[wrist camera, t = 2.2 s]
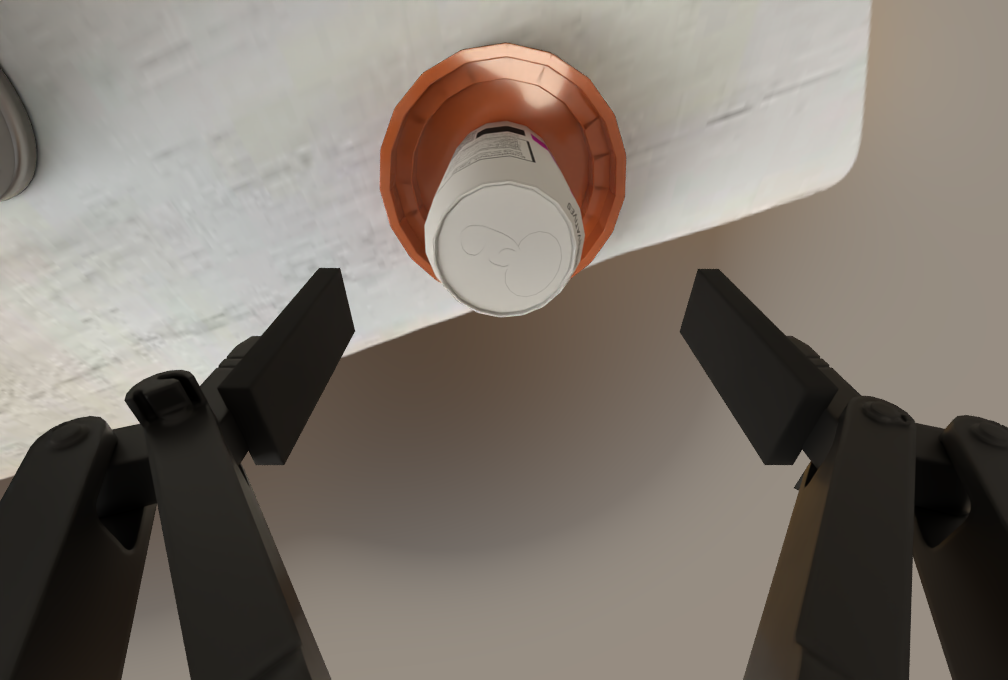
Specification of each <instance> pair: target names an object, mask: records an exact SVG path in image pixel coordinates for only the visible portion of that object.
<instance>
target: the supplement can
mask: <svg viewBox="0 0 1008 680" xmlns="http://www.w3.org/2000/svg"><path fill="white" fill-rule="evenodd" d="M424 227H425V249H426V255H427V257H428V259H429V262H430V264H431V266H432V269H433V271H434V273H435V276H436V277H437V278H438V279H439V281H440V282H441V283H442V284H443V286H444V287H445V288H446V289H447V290H448V291H449V292H450V293H451V295H452V296H453V297H454V298H455V299H456V300H457V301H458V302H459V303H461V304H463V305H465V306H467V307H468V308H470V309H472V310H474V311H476V312H477V313H481V314H486V315H492V316H496V317H509V316H520V315H525V314H527V313H529V312H532V311H534V310H537V309H539V308H541V307H544V306H545V305H546V304H547V303H549V302H550V301H551V300H552V299H553V298H554V297H556V296H557V295H558V294H559V293H560V292H561V291H562V290H563V288H564V286H565V285H566V284H567V283H568V282H569V280H570V278H571V276H572V275H573V273H574V271H575V269H576V268H577V266H578V264H579V263H580V260H581V254H582V249H583V243H584V238H585V233H584V228H583V222H582V217H581V212H580V208H579V206H578V204H577V202H576V200H575V198H574V196H573V194H572V192H571V190H570V188H569V186H568V184H567V182H566V180H565V178H564V176H563V174H562V172H561V171H560V169H559V167H558V165H557V163H556V161H555V159H554V157H553V155H552V153H551V152H550V150H549V149H548V147H547V145H546V144H545V142H544V141H543V139H542V138H541V137H540V136H538V135H537V134H536V133H534V132H533V131H532V130H530V129H529V128H528V127H526V126H524V125H520V124H516V123H513V122H509V121H501V122H494V123H486V124H485V125H483V126H481V127H479V128H477V129H476V130H474V131H472V132H470V133H469V134H468V135H467V136H466V137H465V139H464V140H463V141H462V142H461V144H460V145H459V146H458V147H457V148H456V150H455V153H454V155H453V157H452V159H451V161H450V164H449V166H448V168H447V170H446V172H445V175H444V177H443V179H442V181H441V183H440V186H439V188H438V190H437V192H436V194H435V197H434V199H433V202H432V205H431V208H430V211H429V214H428V217H427V220H426V223H425V226H424Z"/></svg>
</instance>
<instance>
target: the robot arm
mask: <svg viewBox="0 0 1008 680" xmlns="http://www.w3.org/2000/svg"><path fill="white" fill-rule="evenodd" d="M36 160H37V151H36V142H35V137H34V133H33V129H32V126H31V123H30V120H29V118H28V115H27V113H26V111H25V108H24V106H23V104H22V102H21V100H20V98H19V97H18V95H17V93H16V91H15V89H14V88H13V86H12V85H11V83H10V81H9V80H8V78H7V77H6V76H5V74H4V73H3V71H2V70H1V69H0V202H1V201H4V200H7V199H10V198H12V197H14V196H16V195H18V194H19V193H21V192H22V191H23V190H24V189H25V188H26V187H27V186H28V184H29V183H30V181H31V179H32V177H33V175H34V172H35V168H36ZM354 332H355V329H354V325H353V320H352V316H351V312H350V308H349V304H348V299H347V295H346V291H345V287H344V282H343V278H342V274H341V270H340V268H319V269H318V270H317V271H316V272H315V273H314V275H313V276H312V277H311V278H310V279H309V281H308V282H307V283H306V284H305V285H304V286H303V288H302V289H301V290H300V291H299V292H298V293H297V295H296V296H295V297H294V298H293V299H292V300H291V302H290V303H289V304H288V305H287V306H286V307H285V309H284V310H283V311H282V312H281V313H280V315H279V316H278V317H277V318H276V319H275V320H274V322H273V323H272V324H271V325H270V326H269V327H268V329H267V330H266V331H265V332H264V333H263V334H262V336H252V337H250V338H248V339H247V340H245V341H244V342H242V343H240V344H239V345H237V346H236V347H235V348H234V349H233V350H232V351H231V353H230V354H229V355H228V356H227V359H224V360H223V361H222V362H221V364H220V365H219V368H216V369H215V370H214V371H213V372H212V373H211V375H210V376H209V377H208V378H207V379H206V380H205V381H204V382H203V383H202V384H201V386H199V384H198V382H197V381H196V379H195V377H194V375H192V374H191V373H190V372H189V371H184V370H172V371H166V372H162V373H158V374H155V375H153V376H151V377H148V378H146V379H144V380H142V381H141V382H139V383H138V384H136V385H135V386H133V387H132V388H131V389H130V390H129V392H128V393H127V394H126V397H125V402H126V403H127V405H128V406H129V408H130V409H131V411H132V412H133V414H134V415H135V417H136V418H137V419H138V421H139V422H140V424H137V425H132V426H127V427H122V428H117V429H113V430H112V429H111V428H110V427H109V425H108V424H107V423H106V421H105V420H103V419H102V418H101V417H94V416H88V417H82V418H77V419H74V420H71V421H67V422H64V423H62V424H59V425H58V426H55V427H53V428H52V429H50V430H49V431H47V432H46V433H45V434H43V435H42V436H40V437H39V438H38V439H37V440H36V441H35V442H34V443H33V445H32V446H31V447H30V449H29V450H28V452H27V454H26V456H25V458H24V459H23V461H22V463H21V465H20V467H19V468H18V470H17V472H16V474H15V476H14V478H13V479H12V481H11V483H10V485H9V487H8V488H7V490H6V492H5V494H4V496H3V497H2V499H1V501H0V680H121V678H122V673H123V668H124V663H125V658H126V653H127V648H128V643H129V638H130V633H131V628H132V624H133V618H134V614H135V609H136V604H137V599H138V594H139V589H140V584H141V579H142V574H143V570H144V564H145V559H146V555H147V550H148V545H149V540H150V535H151V530H152V525H153V520H154V515H155V511H156V506H157V504H158V510H159V515H160V520H161V525H162V531H163V536H164V541H165V546H166V552H167V557H168V562H169V567H170V572H171V578H172V583H173V588H174V593H175V599H176V604H177V609H178V614H179V620H180V625H181V630H182V635H183V640H184V646H185V651H186V656H187V661H188V666H189V672H190V677H191V680H331V677H330V675H329V672H328V670H327V668H326V665H325V663H324V660H323V658H322V656H321V653H320V651H319V648H318V646H317V644H316V641H315V639H314V636H313V634H312V632H311V629H310V627H309V624H308V622H307V619H306V617H305V615H304V612H303V610H302V607H301V605H300V602H299V600H298V598H297V595H296V593H295V591H294V588H293V586H292V583H291V581H290V578H289V576H288V574H287V571H286V569H285V567H284V564H283V561H282V559H281V557H280V554H279V552H278V549H277V547H276V545H275V542H274V540H273V537H272V535H271V533H270V530H269V528H268V525H267V523H266V521H265V518H264V516H263V513H262V511H261V509H260V506H259V504H258V501H257V499H256V496H255V494H254V492H253V489H252V487H251V484H250V482H249V480H248V477H247V475H246V473H245V470H244V468H243V466H242V464H241V461H242V460H243V458H244V457H245V455H246V454H247V452H248V451H249V453H250V455H251V456H252V458H253V460H254V462H255V464H256V465H284V464H285V462H286V460H287V459H288V457H289V455H290V453H291V451H292V449H293V447H294V445H295V444H296V442H297V440H298V438H299V436H300V434H301V432H302V430H303V428H304V426H305V425H306V423H307V421H308V419H309V417H310V415H311V413H312V411H313V410H314V408H315V406H316V404H317V402H318V400H319V398H320V396H321V394H322V393H323V391H324V389H325V387H326V385H327V383H328V381H329V379H330V377H331V376H332V374H333V372H334V370H335V368H336V366H337V364H338V362H339V360H340V359H341V357H342V355H343V353H344V351H345V349H346V347H347V345H348V343H349V342H350V340H351V338H352V336H353V334H354ZM680 333H681V334H682V336H683V338H684V339H685V341H686V342H687V344H688V345H689V347H690V349H691V350H692V352H693V353H694V355H695V356H696V358H697V359H698V361H699V363H700V364H701V366H702V367H703V369H704V370H705V372H706V374H707V375H708V377H709V378H710V380H711V381H712V383H713V385H714V386H715V388H716V389H717V391H718V392H719V394H720V396H721V397H722V399H723V400H724V402H725V403H726V405H727V406H728V408H729V410H730V411H731V413H732V414H733V416H734V417H735V419H736V420H737V422H738V424H739V425H740V427H741V428H742V430H743V432H744V433H745V435H746V436H747V437H748V439H749V441H750V442H751V444H752V445H753V447H754V449H755V450H756V452H757V453H758V455H759V456H760V458H761V459H762V461H763V463H764V464H765V465H793V464H794V462H795V460H796V459H797V457H798V455H799V454H800V452H801V450H803V451H804V452H805V454H806V455H807V456H808V457H809V459H810V460H811V462H810V463H809V465H808V466H807V468H806V470H805V471H804V473H803V474H802V476H801V477H800V479H799V481H798V482H797V484H796V485H795V487H794V488H795V489H797V490H799V493H798V496H797V500H796V503H795V507H794V509H793V513H792V516H791V520H790V523H789V526H788V530H787V533H786V537H785V540H784V543H783V547H782V550H781V553H780V557H779V560H778V564H777V567H776V571H775V574H774V577H773V581H772V584H771V587H770V590H769V594H768V597H767V601H766V604H765V607H764V611H763V614H762V617H761V621H760V624H759V628H758V631H757V635H756V638H755V641H754V645H753V648H752V651H751V655H750V658H749V662H748V665H747V668H746V672H745V675H744V678H743V680H909V662H910V660H909V659H910V628H911V626H910V625H911V596H912V595H911V594H912V563H913V558H914V561H915V564H916V567H917V570H918V573H919V576H920V579H921V583H922V586H923V589H924V592H925V595H926V598H927V601H928V604H929V608H930V611H931V614H932V617H933V620H934V623H935V627H936V630H937V633H938V636H939V639H940V642H941V645H942V649H943V652H944V655H945V658H946V661H947V664H948V667H949V671H950V673H951V677H952V680H1008V428H1007V427H1005V426H1004V425H1000V424H999V423H997V422H994V421H990V420H987V419H983V418H980V417H975V416H969V415H964V416H957V417H956V418H955V419H954V420H953V421H952V422H951V423H950V424H949V425H948V426H947V428H946V429H942V428H938V427H932V426H928V425H923V424H918V423H915V421H914V419H913V418H912V417H911V416H910V415H909V414H908V413H907V412H905V411H904V410H902V409H901V408H899V407H898V406H896V405H894V404H892V403H890V402H887V401H885V400H882V399H879V398H875V397H871V396H861V395H860V394H859V393H858V392H857V391H856V390H855V389H854V388H853V387H852V386H851V385H850V384H848V383H847V382H846V381H845V380H844V379H843V378H842V377H841V376H840V375H839V374H838V373H837V372H836V371H835V370H834V369H833V368H830V367H829V364H828V363H826V362H825V361H824V360H823V359H820V356H819V355H818V354H817V353H816V352H815V351H814V350H813V349H812V348H811V347H810V346H809V345H807V344H805V343H803V342H802V341H800V340H798V339H796V338H795V337H793V336H786V335H784V333H783V332H781V331H780V330H779V329H778V328H777V327H776V326H775V325H774V324H773V323H772V322H771V321H770V320H769V319H768V318H767V317H766V316H765V315H764V314H763V313H762V312H761V311H760V310H759V309H758V308H757V307H756V306H755V305H754V304H753V303H752V302H751V301H750V300H749V299H748V298H747V297H746V296H745V295H744V294H743V293H742V292H741V291H740V290H739V289H738V288H737V287H736V286H735V285H734V284H733V283H732V282H731V281H730V280H729V279H728V278H727V277H726V276H725V275H724V274H723V273H722V272H721V271H720V270H719V269H698V271H697V274H696V277H695V281H694V284H693V288H692V292H691V295H690V298H689V301H688V305H687V308H686V312H685V315H684V319H683V322H682V326H681V329H680Z"/></svg>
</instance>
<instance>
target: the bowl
mask: <svg viewBox="0 0 1008 680" xmlns="http://www.w3.org/2000/svg"><path fill="white" fill-rule="evenodd" d="M501 121H509V122H513V123H516V124H520V125H524V126H526V127H528V128H529V129H530V130H532V131H533V132H534V133H536V134H537V135H538V136H540V137H541V138H542V139H543V141H544V142H545V144H546V145H547V147H548V149H549V150H550V152H551V153H552V155H553V157H554V159H555V161H556V163H557V165H558V167H559V169H560V171H561V172H562V174H563V176H564V178H565V180H566V182H567V184H568V186H569V188H570V190H571V192H572V194H573V196H574V198H575V200H576V202H577V204H578V206H579V208H580V212H581V217H582V222H583V228H584V233H585V238H584V243H583V249H582V254H581V260H580V263H579V264H578V266H577V268H576V269H575V271H574V273H573V275H572V276H571V278H572V277H573V276H575V275H576V274H577V273H578V272H580V271H581V270H582V269H584V268H585V267H586V266H587V265H589V264H590V263H591V262H592V260H593V259H594V258H595V256H596V255H597V253H598V252H599V251H600V249H601V248H602V246H603V245H604V244H605V242H606V241H607V239H608V238H609V237H610V235H611V234H612V232H613V230H614V227H615V224H616V221H617V218H618V215H619V212H620V210H621V207H622V204H623V201H624V198H625V183H626V152H625V149H624V145H623V142H622V138H621V135H620V131H619V128H618V124H617V121H616V117H615V115H614V113H613V111H612V110H611V109H610V107H609V106H608V104H607V103H606V101H605V100H604V99H603V97H602V96H601V94H600V93H599V92H598V90H597V89H596V87H595V86H594V84H593V83H592V82H591V80H590V79H589V78H588V77H587V76H585V75H584V74H582V73H581V72H579V71H578V70H576V69H575V68H573V67H572V66H571V65H569V64H568V63H566V62H565V61H563V60H562V59H560V58H559V57H557V56H556V55H555V54H553V53H551V52H547V51H542V50H538V49H534V48H529V47H525V46H521V45H516V44H512V43H500V44H494V45H488V46H481V47H475V48H469V49H463V50H460V51H459V52H457V53H455V54H454V55H452V56H450V57H449V58H447V59H445V60H444V61H442V62H440V63H438V64H437V65H435V66H433V67H432V68H430V69H428V70H427V71H425V72H423V74H421V76H420V77H419V78H418V79H417V81H416V82H415V83H414V84H413V86H412V87H411V88H410V89H409V91H408V92H407V93H406V94H405V96H404V97H403V98H402V99H401V101H400V102H399V103H398V104H397V106H396V107H395V109H394V111H393V114H392V117H391V120H390V123H389V126H388V129H387V131H386V134H385V137H384V140H383V143H382V146H381V149H380V192H381V196H382V199H383V202H384V206H385V209H386V213H387V216H388V220H389V223H390V226H391V228H392V230H393V231H394V233H395V234H396V236H397V237H398V239H399V241H400V242H401V244H402V245H403V247H404V248H405V250H406V251H407V253H408V255H409V256H410V257H411V259H412V260H413V261H415V262H416V263H417V264H418V265H419V266H420V267H422V268H423V269H424V270H425V271H426V272H427V273H428V274H430V275H431V276H432V277H433V278H434V279H435V280H437V281H438V282H440V281H439V279H438V278H437V277H436V276H435V273H434V271H433V269H432V266H431V264H430V262H429V259H428V257H427V255H426V249H425V227H424V226H425V223H426V220H427V217H428V214H429V211H430V208H431V205H432V202H433V199H434V197H435V194H436V192H437V190H438V188H439V186H440V183H441V181H442V179H443V177H444V175H445V172H446V170H447V168H448V166H449V164H450V161H451V159H452V157H453V155H454V153H455V150H456V148H457V147H458V146H459V145H460V144H461V142H462V141H463V140H464V139H465V137H466V136H467V135H468V134H469V133H470V132H472V131H474V130H476V129H477V128H479V127H481V126H483V125H485V124H486V123H494V122H501ZM571 278H570V279H571ZM440 283H441V282H440Z"/></svg>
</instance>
